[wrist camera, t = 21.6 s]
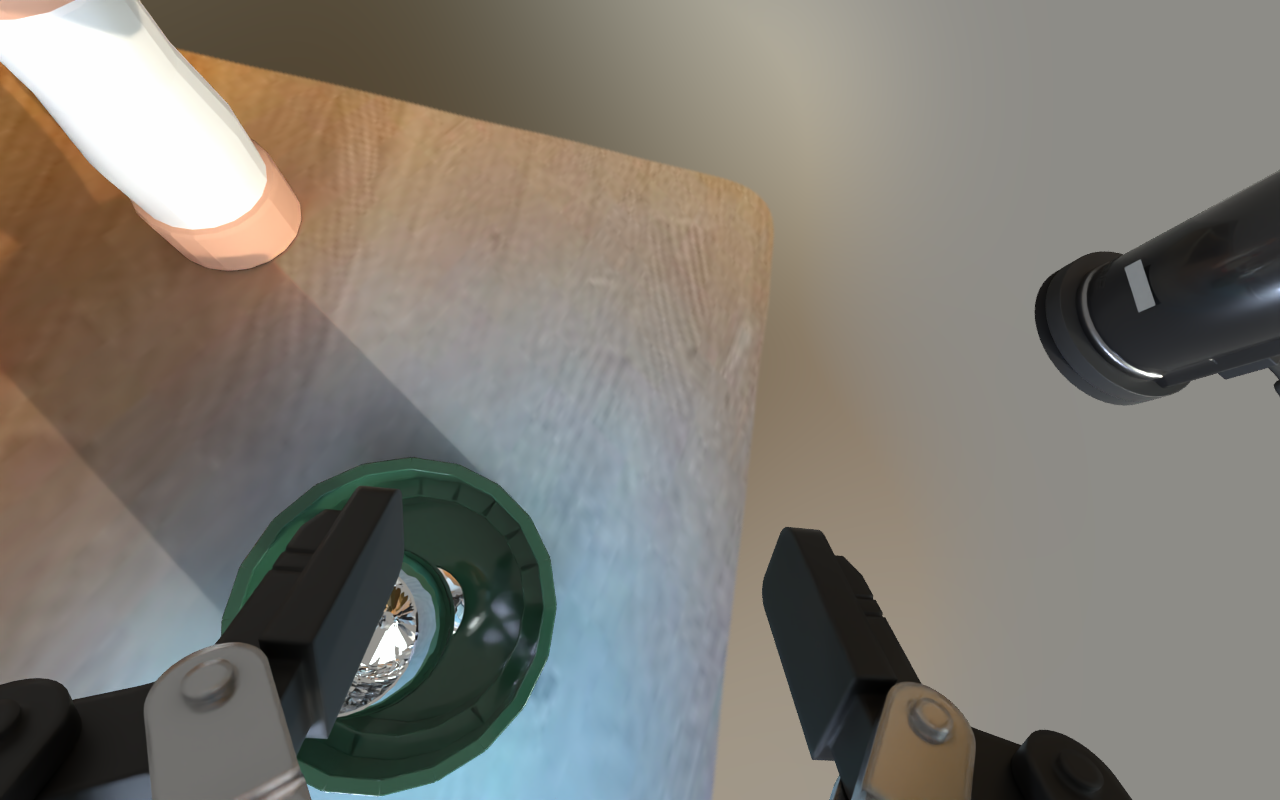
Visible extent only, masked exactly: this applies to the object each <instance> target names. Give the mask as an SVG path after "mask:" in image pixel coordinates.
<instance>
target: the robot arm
mask: <svg viewBox="0 0 1280 800" xmlns="http://www.w3.org/2000/svg"><path fill="white" fill-rule="evenodd" d="M1076 308H1077V314H1078V318H1079V321H1080V324H1081V327H1082V329H1083V331H1084V333H1085V335H1086V337H1087V338H1088V340H1089V341H1090V343H1091V344H1092V346H1093V347H1094V348H1095V349H1096V351H1097V352H1098V353H1099V354H1100V355H1101V356H1102V357H1103V358H1104V359H1105V360H1106V361H1108V362H1109V363H1110V364H1111V365H1113V366H1114V367H1116V368H1117V369H1119V370H1120V371H1122V372H1124V373H1126V374H1128V375H1131V376H1133V377H1136V378H1140V379H1146V380H1153V381H1154V382H1156V383H1157V384H1158V385H1159V386H1160V387H1162V388H1168V387H1171V386H1175V385H1178V384H1182V383H1185V382H1189V381H1192V380H1196V379H1199V378H1202V377H1206V376H1209V375H1213V374H1216V373H1218V374H1219V375H1221V376H1222V377H1223V378H1224V379H1229V378H1233V377H1236V376H1240V375H1244V374H1247V373H1251V372H1254V371H1258V370H1262V369H1265V368H1269V369H1270V370H1271V371H1272V372H1273V373H1274V374H1275V375H1276V376H1277V378H1278V379H1279V380H1278V381H1277V382H1276V383H1275V384H1274V388H1275V390H1276V392H1277V393H1278V394H1279V396H1280V170H1278V171H1277V172H1275V173H1273V174H1271V175H1269V176H1267V177H1266V178H1264V179H1262V180H1260V181H1258V182H1257V183H1254V184H1253V185H1251V186H1249V187H1247V188H1245V189H1243V190H1242V191H1240V192H1238V193H1236V194H1234V195H1232V196H1231V197H1229V198H1227V199H1225V200H1223V201H1221V202H1219V203H1218V204H1216V205H1214V206H1212V207H1210V208H1208V209H1207V210H1205V211H1203V212H1201V213H1199V214H1197V215H1196V216H1194V217H1192V218H1190V219H1188V220H1186V221H1185V222H1183V223H1181V224H1179V225H1177V226H1175V227H1174V228H1172V229H1170V230H1168V231H1166V232H1164V233H1162V234H1161V235H1159V236H1157V237H1155V238H1153V239H1151V240H1150V241H1148V242H1146V243H1144V244H1142V245H1140V246H1139V247H1137V248H1135V249H1133V250H1131V251H1129V252H1127V253H1125V254H1124V255H1121V256H1119V257H1117V258H1115V259H1113V260H1111V261H1110V262H1107V263H1105V264H1103V265H1101V266H1099V267H1097V268H1095V269H1093V270H1092V271H1090V272H1089V273H1088V274H1086V275H1085V277H1084V278H1083V279H1082V281H1081V282H1080V284H1079V287H1078V290H1077V295H1076ZM403 557H404V526H403V503H402V493H401V491H400V490H399V489H392V488H382V487H371V486H359V487H357V488H356V490H355V491H354V492H353V494H352V496H351V497H350V499H349V500H348V502H347V503H346V505H345V506H344V508H343V509H342V510H331V509H325V510H323V511H322V512H320V513H319V514H318V515H316V516H315V517H313V518H312V519H310V520H309V521H308V522H306V523H305V524H303V525H302V526H301V527H300V528H299V529H298V531H297V532H296V534H295V535H294V536H293V538H292V539H291V541H290V542H289V543H288V545H287V546H286V547H285V552H282V553H281V554H280V556H279V557H278V559H277V560H276V561H275V563H274V564H273V567H272V570H269V571H268V572H267V574H266V575H265V576H264V578H263V579H262V581H261V582H260V583H259V585H258V586H257V588H256V589H255V590H254V592H253V593H252V594H251V596H250V597H249V599H248V600H247V601H246V603H245V604H244V606H243V607H242V608H241V610H240V611H239V612H238V614H237V615H236V617H235V618H234V619H233V621H232V622H231V624H230V625H229V626H228V628H227V629H226V630H225V632H224V633H223V635H222V636H221V637H220V639H219V640H218V641H217V642H216V644H215V645H213V646H210V647H206V648H203V649H201V650H199V651H196V652H194V653H192V654H190V655H188V656H186V657H185V658H183V659H181V660H180V661H178V662H177V663H175V664H174V665H172V666H171V667H170V668H169V669H168V670H167V671H165V672H164V673H163V674H162V675H161V676H160V677H159V678H158V680H157V681H155V682H152V683H149V684H145V685H141V686H137V687H132V688H128V689H123V690H118V691H113V692H108V693H104V694H99V695H94V696H89V697H84V698H80V699H75V700H72V699H71V697H70V695H69V693H68V691H67V689H66V688H65V687H64V686H63V685H62V684H60V683H58V682H57V681H53V680H50V679H41V678H35V679H24V680H18V681H13V682H9V683H6V684H2V685H0V800H311V797H310V794H309V790H308V787H307V784H306V781H305V778H304V775H303V773H301V770H300V767H299V764H298V761H297V757H296V756H297V754H298V752H299V750H300V748H301V746H302V743H303V741H304V739H305V738H321V739H328V737H329V735H330V732H331V730H332V728H333V726H334V723H335V721H336V719H337V716H338V714H339V712H340V710H341V707H342V705H343V703H344V700H345V698H346V696H347V694H348V691H349V689H350V687H351V685H352V682H353V680H354V678H355V675H356V673H357V671H358V669H359V666H360V664H361V662H362V659H363V657H364V655H365V653H366V650H367V648H368V646H369V643H370V641H371V639H372V637H373V634H374V632H375V630H376V627H377V625H378V623H379V621H380V618H381V616H382V614H383V611H384V609H385V607H386V605H387V602H388V600H389V598H390V595H391V593H392V591H393V589H394V586H395V584H396V582H397V579H398V577H399V574H400V571H401V567H402V563H403ZM762 598H763V605H764V609H765V612H766V615H767V618H768V621H769V624H770V628H771V631H772V634H773V637H774V640H775V644H776V647H777V650H778V653H779V656H780V659H781V663H782V666H783V669H784V672H785V675H786V678H787V681H788V685H789V688H790V691H791V694H792V697H793V700H794V704H795V707H796V710H797V713H798V716H799V719H800V723H801V726H802V729H803V732H804V735H805V739H806V742H807V745H808V748H809V751H810V754H811V758H812V760H830V761H831V760H832V761H835V763H836V766H837V769H838V772H839V777H838V778H837V780H836V782H835V784H834V787H833V790H832V794H831V797H830V799H829V800H1132V799H1131V797H1130V796H1129V795H1128V793H1127V792H1126V791H1125V789H1124V788H1123V786H1122V785H1121V783H1120V782H1119V781H1118V779H1117V778H1116V777H1115V775H1114V774H1113V773H1112V771H1111V770H1110V769H1109V768H1108V767H1107V766H1106V765H1105V764H1104V763H1103V762H1102V761H1101V760H1100V759H1099V758H1098V757H1097V756H1096V755H1095V754H1093V753H1092V752H1091V751H1090V750H1089V749H1087V748H1086V747H1084V746H1083V745H1082V744H1080V743H1079V742H1077V741H1075V740H1073V739H1072V738H1070V737H1068V736H1066V735H1063V734H1061V733H1057V732H1054V731H1050V730H1038V731H1035V732H1033V733H1032V734H1031V735H1030V736H1029V737H1028V738H1027V739H1026V741H1025V742H1024V743H1023V744H1022V745H1019V744H1016V743H1014V742H1011V741H1008V740H1005V739H1003V738H1000V737H997V736H994V735H992V734H989V733H986V732H983V731H981V730H978V729H975V728H973V727H971V726H970V725H969V723H968V721H967V720H966V718H965V717H964V715H963V714H962V713H961V712H960V710H959V709H958V708H957V707H956V706H955V705H954V704H953V703H951V701H950V700H948V699H947V698H946V697H945V696H943V695H942V694H940V693H939V692H937V691H936V690H934V689H932V688H930V687H928V686H925V685H922V684H921V682H920V680H919V679H918V677H917V675H916V673H915V671H914V670H913V668H912V666H911V664H910V662H909V660H908V659H907V657H906V655H905V653H904V651H903V649H902V647H901V646H900V644H899V642H898V640H897V638H896V636H895V635H894V633H893V631H892V629H891V627H890V626H889V624H888V622H887V620H886V618H885V617H883V616H882V611H881V609H880V607H879V605H878V604H877V602H876V600H873V594H872V593H871V591H870V589H869V587H868V585H867V583H866V582H865V580H864V578H863V576H862V575H861V574H860V573H859V572H858V571H857V570H856V569H855V568H854V567H853V566H852V565H851V564H850V563H849V562H848V561H847V560H846V559H845V558H844V557H843V556H835V555H834V553H833V551H832V549H831V547H830V545H829V543H828V541H827V539H826V537H825V536H824V534H823V533H822V532H821V531H820V530H814V529H803V528H792V527H785V528H784V529H783V530H782V531H781V533H780V536H779V538H778V541H777V544H776V546H775V549H774V552H773V554H772V557H771V560H770V563H769V565H768V568H767V571H766V574H765V577H764V580H763V588H762Z"/></svg>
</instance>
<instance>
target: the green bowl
mask: <svg viewBox="0 0 1280 800" xmlns="http://www.w3.org/2000/svg"><path fill="white" fill-rule="evenodd" d="M359 486H371V487H382V488H392V489H399V490H400V491H401V493H402V503H403V526H404V547H405V548H408V549H411V550H413V551H416V552H418V553H420V554H421V555H423V556H425V557H426V558H428V559H429V560H430V561H431V562H432V563H434V564H435V565H437V566H441V567H443V568H445V569H447V570H448V571H450V572H451V573H452V574H453V575H454V576H455V577H456V578H457V579H458V580H459V582H460V584H461V585H462V587H463V589H464V592H465V596H466V612H465V617H464V620H463V622H462V625H461V627H460V629H459V630H458V632H457V634H456V635H455V636H454V637H453V638H452V640H451V641H450V645H449V648H448V650H447V652H446V654H445V656H444V658H443V660H442V662H441V663H440V665H439V666H438V668H437V669H436V671H435V672H434V673H433V675H432V676H431V677H430V678H429V679H428V680H427V681H426V682H425V683H424V684H423V685H422V686H421V687H420V688H419V689H418V690H416V691H415V692H414V693H413V694H411V695H410V696H408V697H407V698H406V699H404V700H403V701H401V702H399V703H397V704H395V705H393V706H391V707H389V708H387V709H385V710H382V711H380V712H377V713H374V714H370V715H366V716H361V717H356V718H350V719H336V721H335V723H334V726H333V728H332V730H331V732H330V735H329V737H328V739H321V738H305V739H304V741H303V743H302V746H301V748H300V750H299V752H298V754H297V756H296V757H297V761H298V764H299V767H300V770H301V773H303V775H304V778H305V781H306V784H308V785H310V786H312V787H314V788H316V789H318V790H320V791H324V792H329V793H341V794H353V795H365V796H377V797H378V796H385V795H388V794H392V793H396V792H400V791H404V790H408V789H412V788H415V787H419V786H423V785H427V784H431V783H434V782H436V781H439V780H440V779H442V778H443V777H445V776H447V775H448V774H450V773H451V772H453V771H455V770H456V769H458V768H459V767H461V766H463V765H464V764H466V763H467V762H469V761H471V760H472V759H474V758H475V757H477V756H479V755H480V754H482V753H483V752H485V750H487V749H488V748H489V747H490V746H491V745H492V744H493V742H494V741H495V740H496V739H497V738H498V737H499V736H500V735H501V733H502V732H503V731H504V730H505V729H506V728H507V727H508V726H509V724H510V723H511V722H512V721H513V720H514V719H515V718H516V717H517V715H518V714H519V713H520V712H521V711H522V710H523V708H524V707H525V705H526V703H527V701H528V699H529V697H530V695H531V693H532V691H533V689H534V687H535V685H536V682H537V680H538V678H539V676H540V674H541V672H542V670H543V668H544V666H545V664H546V662H547V660H548V656H549V651H550V645H551V639H552V633H553V627H554V621H555V615H556V609H557V608H556V605H557V604H556V596H555V589H554V582H553V574H552V567H551V560H550V556H549V554H548V552H547V550H546V548H545V546H544V544H543V542H542V540H541V538H540V536H539V534H538V532H537V530H536V527H535V525H534V523H533V521H532V519H531V517H530V516H529V515H528V514H527V513H526V512H525V511H524V510H523V509H522V508H521V507H520V506H519V505H518V504H517V503H516V502H515V501H514V500H513V499H512V498H511V497H510V495H509V494H508V493H507V492H506V491H505V490H504V489H503V488H502V487H501V486H499V485H498V484H497V483H495V482H493V481H491V480H489V479H487V478H485V477H483V476H481V475H479V474H477V473H475V472H473V471H471V470H469V469H467V468H465V467H463V466H461V465H458V464H454V463H448V462H441V461H435V460H429V459H422V458H416V457H408V458H401V459H394V460H387V461H380V462H373V463H366V464H364V465H363V464H361V465H359V466H357V467H355V468H352V469H350V470H348V471H346V472H343V473H341V474H339V475H337V476H334V477H332V478H330V479H328V480H325V481H323V482H321V483H318V484H316V486H313V487H312V488H311V489H310V490H308V491H307V492H306V493H305V494H304V495H302V496H301V497H300V498H299V499H297V500H296V501H295V502H294V503H293V504H291V505H290V506H289V507H288V508H286V509H285V510H284V511H283V512H282V513H280V514H279V515H278V516H277V517H275V518H274V519H273V521H272V522H271V523H270V524H269V526H268V527H267V529H266V530H265V531H264V533H263V534H262V536H261V537H260V538H259V540H258V541H257V543H256V544H255V546H254V547H253V548H252V550H251V551H250V553H249V554H248V555H247V557H246V558H245V560H244V561H243V563H242V564H241V566H240V568H239V571H238V574H237V576H236V579H235V582H234V585H233V588H232V591H231V594H230V597H229V600H228V603H227V606H226V608H225V611H224V614H223V617H222V619H223V620H222V627H221V636H222V635H223V633H224V632H225V630H226V629H227V628H228V626H229V625H230V624H231V622H232V621H233V619H234V618H235V617H236V615H237V614H238V612H239V611H240V610H241V608H242V607H243V606H244V604H245V603H246V601H247V600H248V599H249V597H250V596H251V594H252V593H253V592H254V590H255V589H256V588H257V586H258V585H259V583H260V582H261V581H262V579H263V578H264V576H265V575H266V574H267V572H268V571H269V570H272V567H273V564H274V563H275V561H276V560H277V559H278V557H279V556H280V554H281V553H282V552H285V547H286V546H287V545H288V543H289V542H290V541H291V539H292V538H293V536H294V535H295V534H296V532H297V531H298V529H299V528H300V527H301V526H302V525H303V524H305V523H306V522H308V521H309V520H310V519H312V518H313V517H315V516H316V515H318V514H319V513H320V512H322V511H323V510H325V509H331V510H342V509H343V508H344V506H345V505H346V503H347V502H348V500H349V499H350V497H351V496H352V494H353V492H354V491H355V490H356V488H357V487H359Z"/></svg>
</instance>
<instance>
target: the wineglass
mask: <svg viewBox="0 0 1280 800" xmlns="http://www.w3.org/2000/svg"><path fill="white" fill-rule="evenodd" d="M465 612H466V596H465V592H464V589H463V587H462V585H461V584H460V582H459V580H458V579H457V578H456V577H455V576H454V575H453V574H452V573H451V572H450V571H448V570H447V569H445V568H443V567H441V566H437V565H435V564H434V563H432V562H431V561H430V560H429V559H428V558H426V557H425V556H423V555H421V554H420V553H418V552H416V551H413V550H411V549H408V548H405V547H404V557H403V563H402V567H401V571H400V574H399V577H398V579H397V582H396V584H395V586H394V589H393V591H392V593H391V595H390V598H389V600H388V602H387V605H386V607H385V609H384V611H383V614H382V616H381V618H380V621H379V623H378V625H377V627H376V630H375V632H374V634H373V637H372V639H371V641H370V643H369V646H368V648H367V650H366V653H365V655H364V657H363V659H362V662H361V664H360V666H359V669H358V671H357V673H356V675H355V678H354V680H353V682H352V685H351V687H350V689H349V691H348V694H347V696H346V698H345V700H344V703H343V705H342V707H341V710H340V712H339V714H338V716H337V719H350V718H356V717H361V716H366V715H370V714H374V713H377V712H380V711H382V710H385V709H387V708H389V707H391V706H393V705H395V704H397V703H399V702H401V701H403V700H404V699H406V698H407V697H408V696H410V695H411V694H413V693H414V692H415V691H416V690H418V689H419V688H420V687H421V686H422V685H423V684H424V683H425V682H426V681H427V680H428V679H429V678H430V677H431V676H432V675H433V673H434V672H435V671H436V669H437V668H438V666H439V665H440V663H441V662H442V660H443V658H444V656H445V654H446V652H447V650H448V648H449V645H450V641H451V640H452V638H453V637H454V636H455V635H456V634H457V632H458V630H459V629H460V627H461V625H462V622H463V620H464V617H465Z"/></svg>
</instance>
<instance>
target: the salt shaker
mask: <svg viewBox="0 0 1280 800" xmlns="http://www.w3.org/2000/svg"><path fill="white" fill-rule="evenodd" d="M0 62H1V63H2V64H3V65H4V66H6V67H7V68H8V69H9V70H10V71H11V72H12V73H13V74H14V75H15V76H16V77H17V78H18V79H19V80H20V81H21V82H22V83H23V84H25V85H26V86H27V87H28V88H29V89H30V90H31V91H32V92H33V93H34V94H35V96H36V97H37V98H38V99H39V101H40V102H41V103H42V104H43V106H44V107H45V108H46V109H47V111H48V112H49V113H50V114H51V116H52V117H53V118H54V119H55V121H56V122H57V123H58V124H59V126H60V127H61V128H62V129H63V131H64V132H65V133H66V134H67V136H68V137H69V138H70V139H71V141H72V142H73V143H74V144H75V146H76V147H77V148H78V149H79V151H80V152H81V153H82V154H83V156H84V157H85V158H86V159H87V161H88V162H89V163H90V164H91V165H92V166H93V167H94V168H95V169H97V170H98V171H99V172H100V173H101V174H102V175H103V176H104V177H105V178H107V179H108V180H109V181H110V182H111V183H112V184H114V185H115V186H116V187H117V188H118V189H120V190H121V191H122V192H123V193H124V194H126V195H127V196H128V197H129V198H130V200H131V202H132V204H133V206H134V208H135V211H136V213H137V214H138V215H139V216H140V217H141V218H142V219H143V220H144V221H145V222H146V223H148V224H149V225H150V226H151V227H152V228H153V229H154V230H155V231H157V232H158V233H159V234H160V235H161V236H162V237H163V238H165V239H166V240H167V241H168V242H169V243H170V244H171V245H173V246H174V247H175V248H176V249H177V250H178V251H179V252H181V253H182V254H183V255H184V256H185V257H186V258H187V259H189V260H190V261H193V262H195V263H197V264H199V265H202V266H204V267H206V268H211V269H218V270H225V271H232V270H241V269H250V268H252V267H255V266H258V265H260V264H263V263H266V262H269V261H270V260H272V259H273V258H275V257H276V256H277V255H279V254H280V253H282V252H283V251H284V250H286V248H287V247H288V246H289V245H290V243H291V242H292V241H293V239H294V238H295V237H296V235H297V232H298V229H299V226H300V223H301V210H300V203H299V201H298V199H297V197H296V196H295V194H294V192H293V190H292V188H291V187H290V185H289V184H288V182H287V181H286V179H285V178H284V176H283V175H282V173H281V172H280V170H279V169H278V167H277V166H276V164H275V163H274V161H273V160H272V158H271V157H270V155H269V154H268V152H266V151H265V150H264V149H263V148H262V147H261V146H260V145H259V144H257V143H256V142H255V141H254V140H252V139H250V138H249V136H248V135H247V133H246V132H245V130H244V128H243V127H242V125H241V124H240V122H239V120H238V119H237V117H236V116H235V114H234V113H233V111H232V109H231V108H230V106H229V105H228V103H227V102H226V101H225V100H224V99H223V98H222V97H221V96H220V95H219V94H218V93H217V92H216V91H215V90H214V88H213V87H212V86H211V85H210V84H209V83H208V82H207V81H206V80H205V79H204V78H203V77H202V76H201V75H200V74H199V73H198V71H197V70H196V69H195V68H194V67H193V66H192V65H191V64H190V63H189V62H188V61H187V60H186V59H185V58H184V57H183V56H182V54H181V53H180V52H179V51H178V50H177V49H176V48H175V47H174V46H173V45H172V44H171V43H170V42H169V41H168V39H167V38H166V36H165V35H164V34H163V32H162V31H161V29H160V28H159V27H158V25H157V24H156V22H155V21H154V20H153V18H152V17H151V16H150V14H149V13H148V11H147V10H146V9H145V7H144V6H143V4H142V3H141V2H140V0H0Z"/></svg>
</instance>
